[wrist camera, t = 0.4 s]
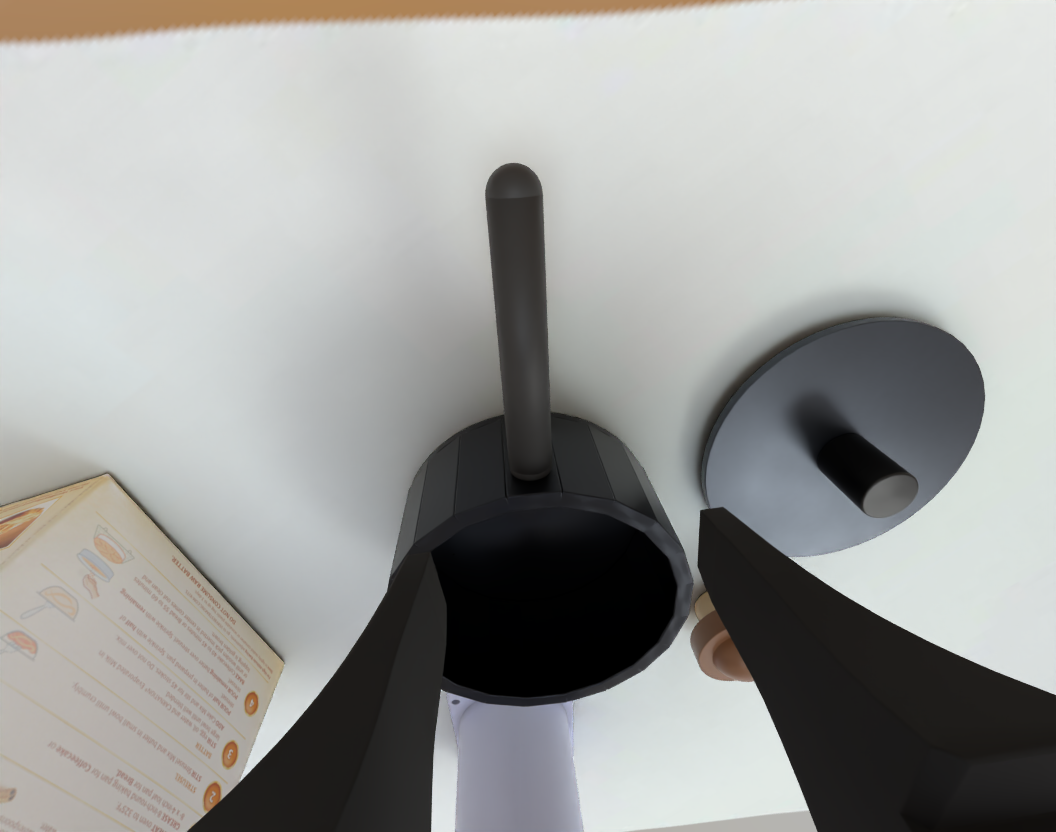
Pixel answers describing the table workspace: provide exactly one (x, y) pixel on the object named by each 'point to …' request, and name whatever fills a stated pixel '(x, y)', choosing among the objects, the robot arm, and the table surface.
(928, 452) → the lid
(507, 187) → the pan handle
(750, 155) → the table surface
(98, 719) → the coffeecake box
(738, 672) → the mushroom
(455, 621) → the pan
